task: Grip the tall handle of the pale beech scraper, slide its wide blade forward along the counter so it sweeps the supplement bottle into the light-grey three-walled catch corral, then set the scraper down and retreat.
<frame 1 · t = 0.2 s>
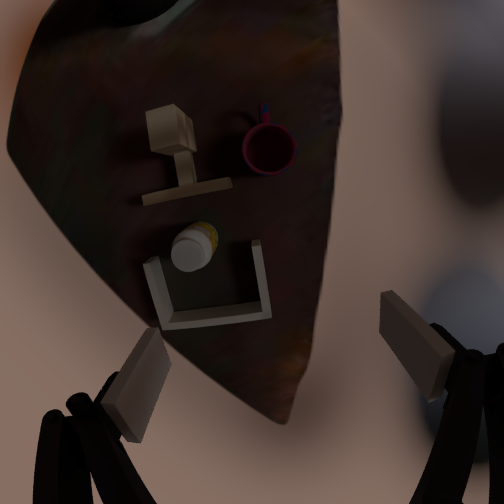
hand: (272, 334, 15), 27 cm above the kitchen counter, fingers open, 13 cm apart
supplement bottle: (201, 238, 42), on the kitchen counter
mug: (266, 142, 38), on the kitchen counter
corral: (209, 278, 43), on the kitchen counter
scraper: (183, 138, 38), on the kitchen counter
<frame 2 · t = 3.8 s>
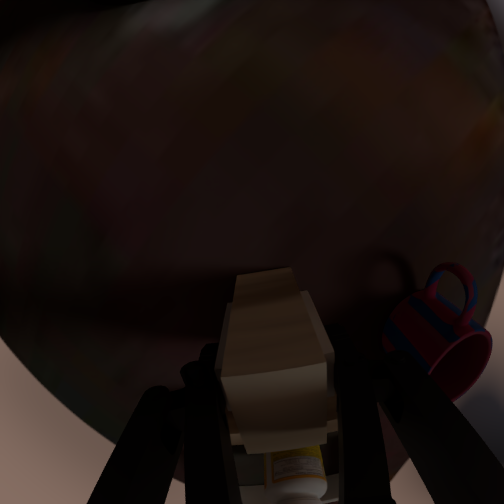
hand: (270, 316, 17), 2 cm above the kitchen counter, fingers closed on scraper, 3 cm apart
supplement bottle: (289, 435, 23), on the kitchen counter
mug: (419, 307, 19), on the kitchen counter
corral: (294, 465, 24), on the kitchen counter
scraper: (269, 305, 19), on the kitchen counter, touching gripper
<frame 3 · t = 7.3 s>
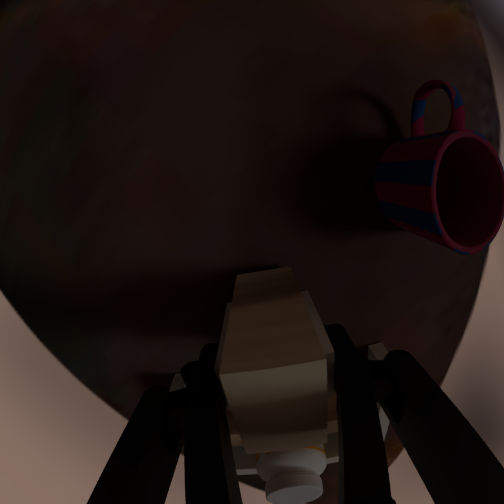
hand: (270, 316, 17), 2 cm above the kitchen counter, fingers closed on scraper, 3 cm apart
supplement bottle: (285, 407, 22), on the kitchen counter, touching scraper
mug: (412, 162, 17), on the kitchen counter
corral: (285, 404, 22), on the kitchen counter
scraper: (269, 305, 19), point 1 cm above the kitchen counter, touching supplement bottle, gripper
when the fingers open (2 cm above the kitchen counter, at t = 9.1 s): scraper stays where it is, on the kitchen counter.
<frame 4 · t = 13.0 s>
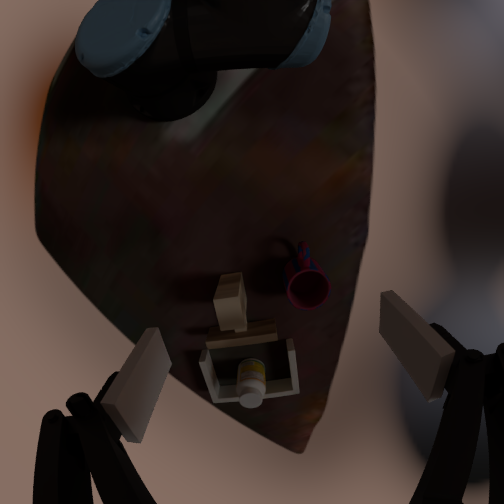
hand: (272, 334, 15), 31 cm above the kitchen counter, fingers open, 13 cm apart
supplement bottle: (251, 367, 52), on the kitchen counter
mug: (302, 265, 46), on the kitchen counter
corral: (250, 364, 52), on the kitchen counter
scraper: (233, 287, 47), on the kitchen counter
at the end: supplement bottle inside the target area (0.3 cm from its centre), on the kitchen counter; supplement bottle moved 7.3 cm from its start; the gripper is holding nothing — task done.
